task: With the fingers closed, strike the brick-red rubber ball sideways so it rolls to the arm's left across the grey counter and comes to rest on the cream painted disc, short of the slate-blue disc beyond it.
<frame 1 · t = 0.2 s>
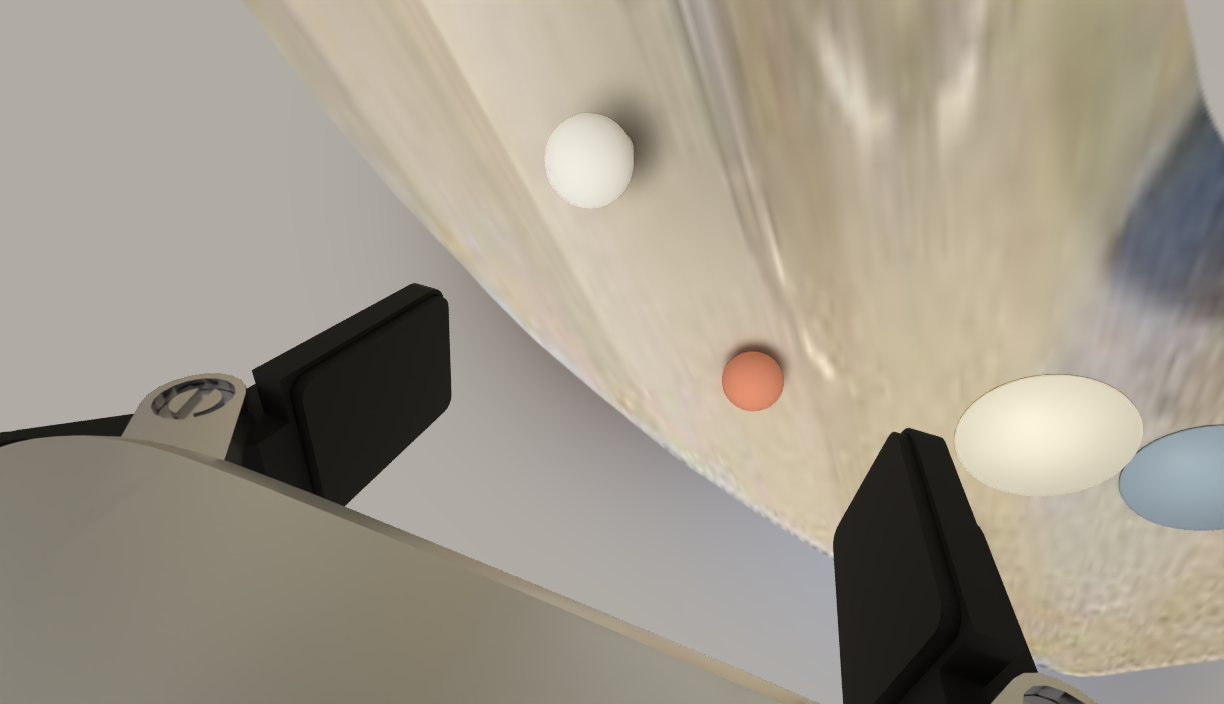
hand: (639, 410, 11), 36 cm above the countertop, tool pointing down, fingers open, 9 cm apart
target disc: (1042, 438, 44), on the countertop
light bulb: (621, 147, 44), on the countertop
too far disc: (1207, 479, 41), on the countertop
ball: (752, 381, 47), on the countertop
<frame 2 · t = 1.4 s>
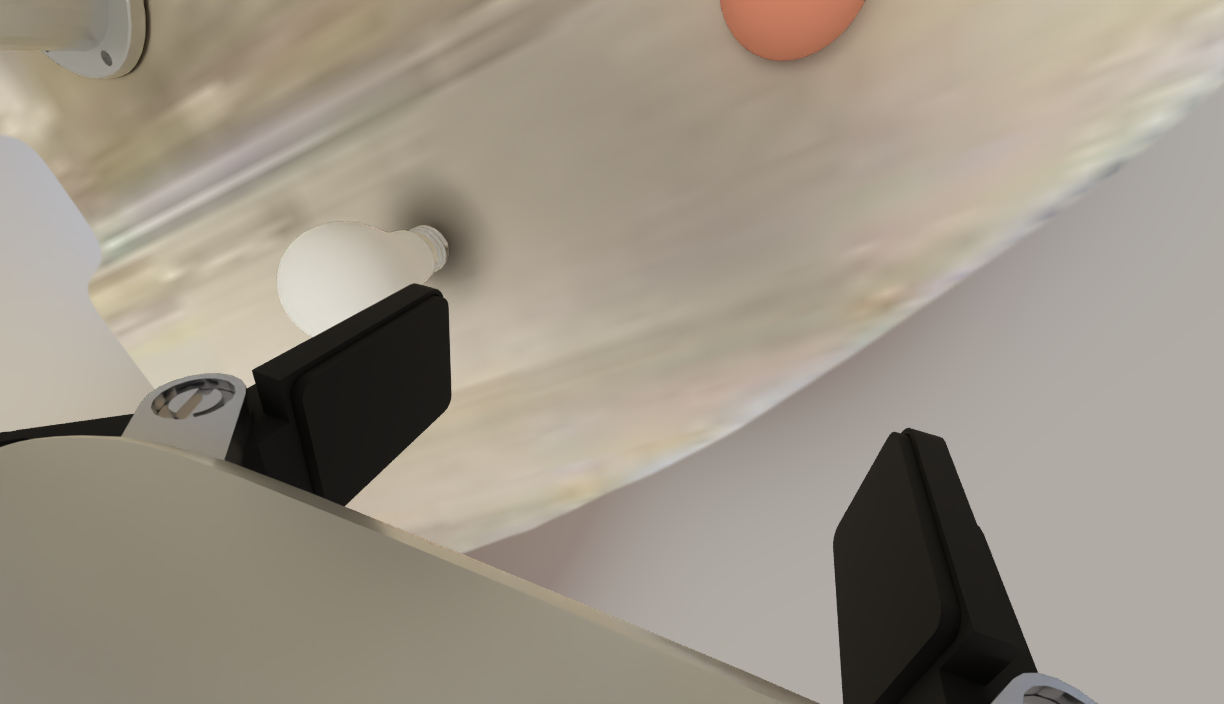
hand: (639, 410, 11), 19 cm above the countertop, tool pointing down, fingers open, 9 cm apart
light bulb: (438, 243, 33), on the countertop
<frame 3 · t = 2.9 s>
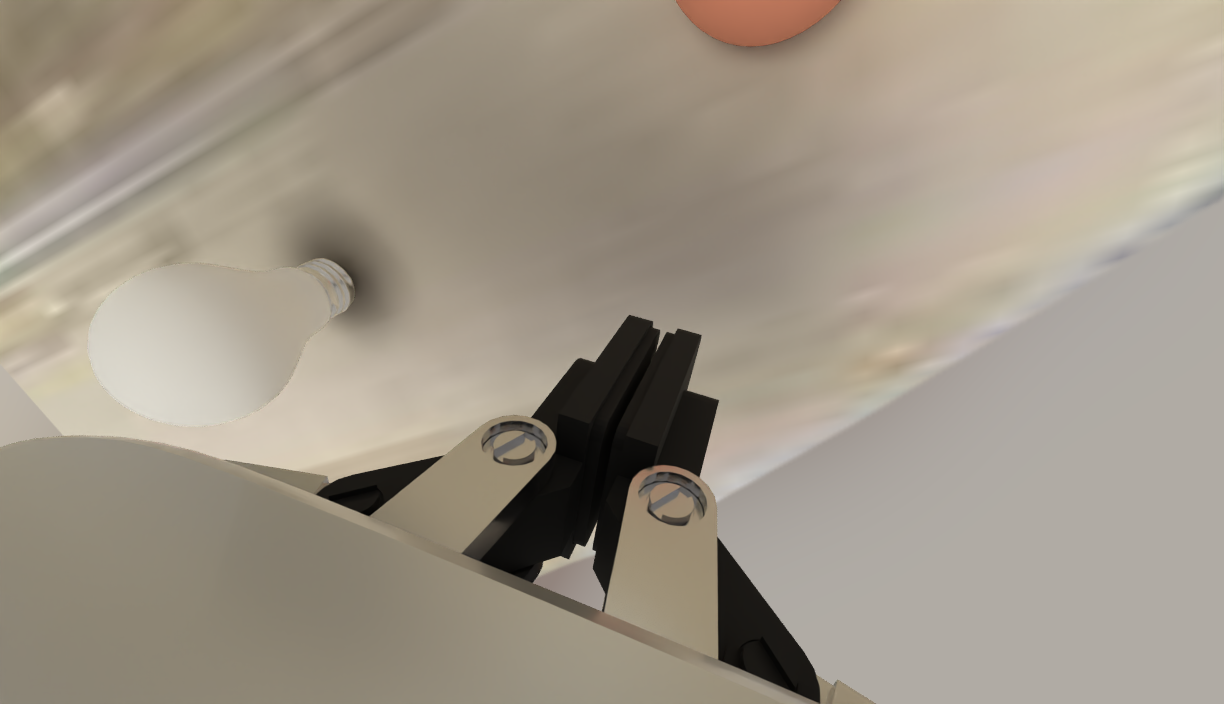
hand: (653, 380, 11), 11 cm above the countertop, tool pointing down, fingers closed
light bulb: (345, 278, 27), on the countertop
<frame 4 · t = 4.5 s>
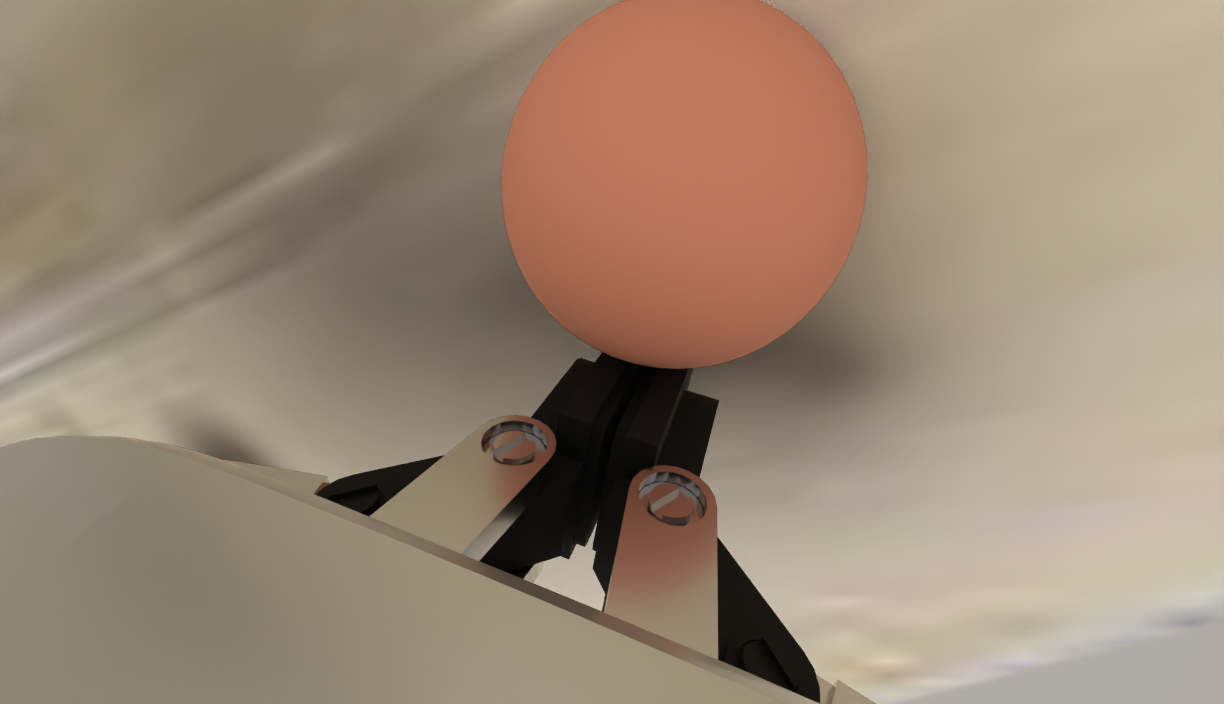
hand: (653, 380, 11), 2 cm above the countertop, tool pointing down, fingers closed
ball: (676, 197, 8), on the countertop
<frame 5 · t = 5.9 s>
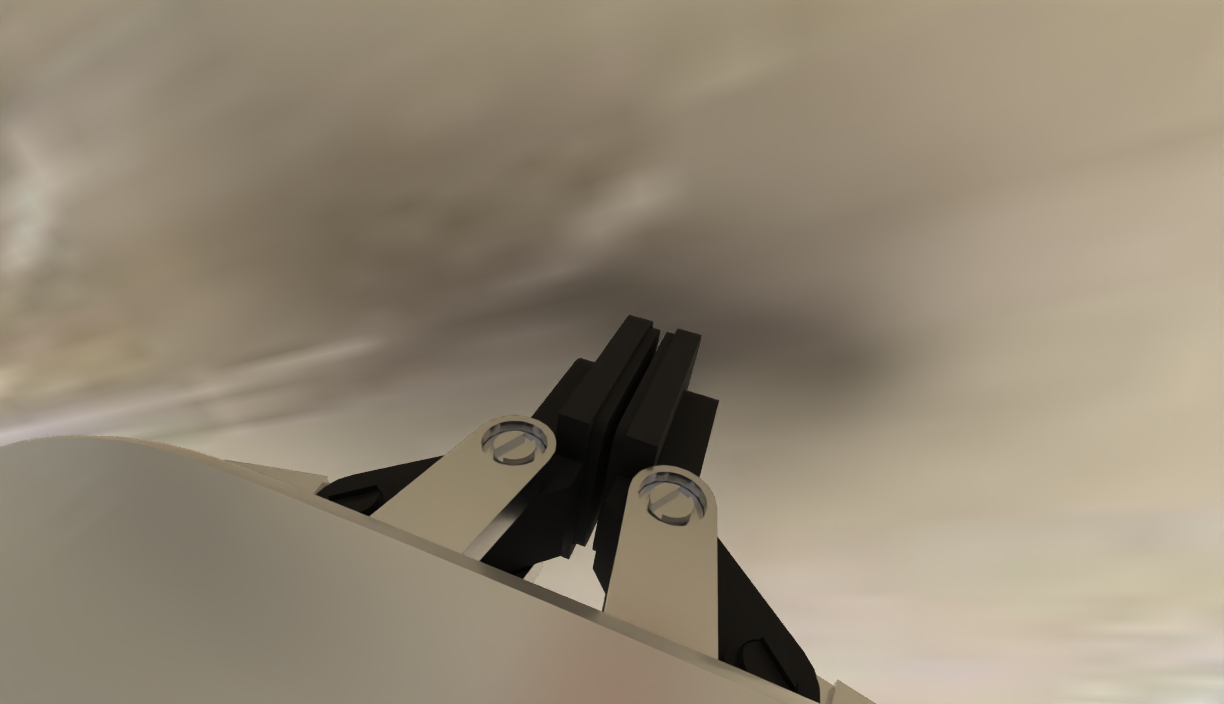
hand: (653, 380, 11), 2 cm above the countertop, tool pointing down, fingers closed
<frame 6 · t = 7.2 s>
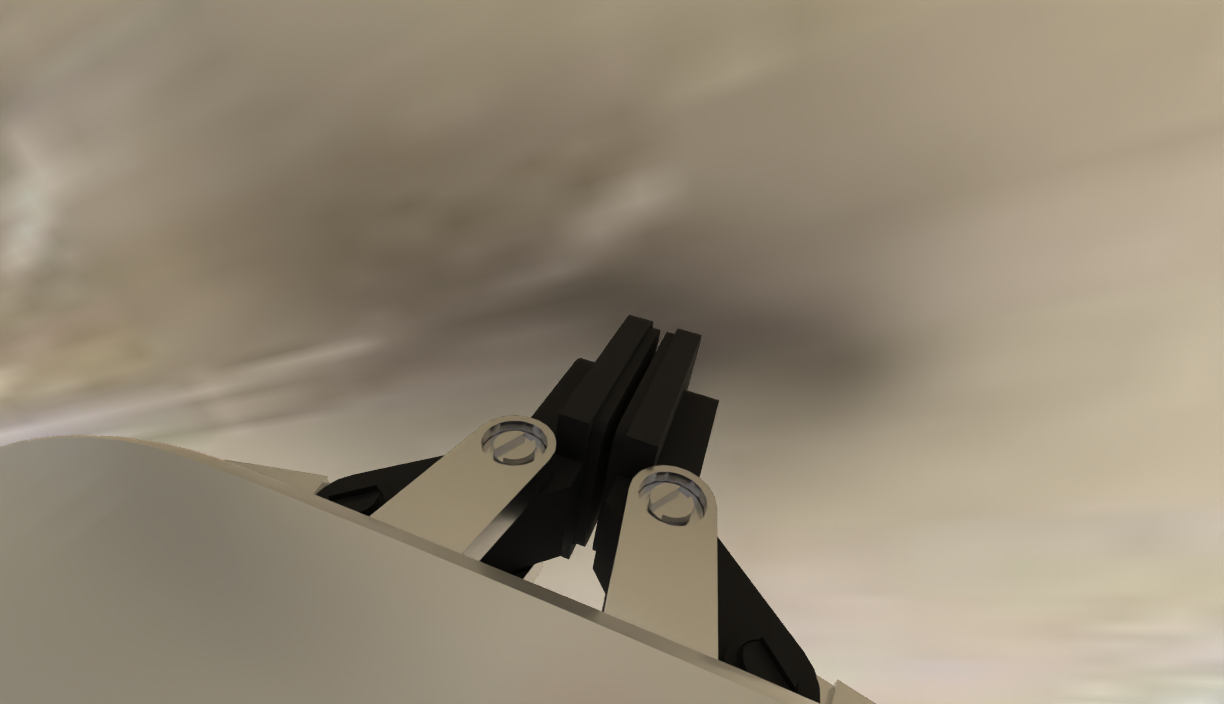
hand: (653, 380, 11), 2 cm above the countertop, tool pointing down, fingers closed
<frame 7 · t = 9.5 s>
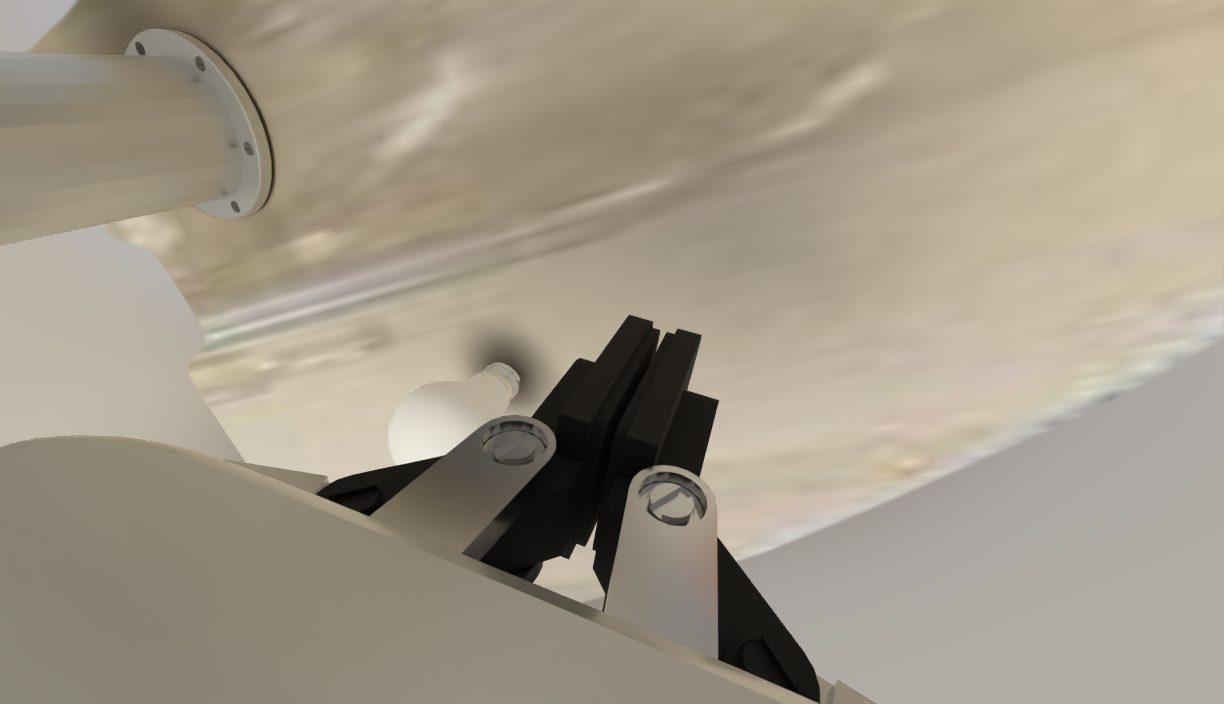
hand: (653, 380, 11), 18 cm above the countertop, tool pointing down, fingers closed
light bulb: (510, 372, 38), on the countertop
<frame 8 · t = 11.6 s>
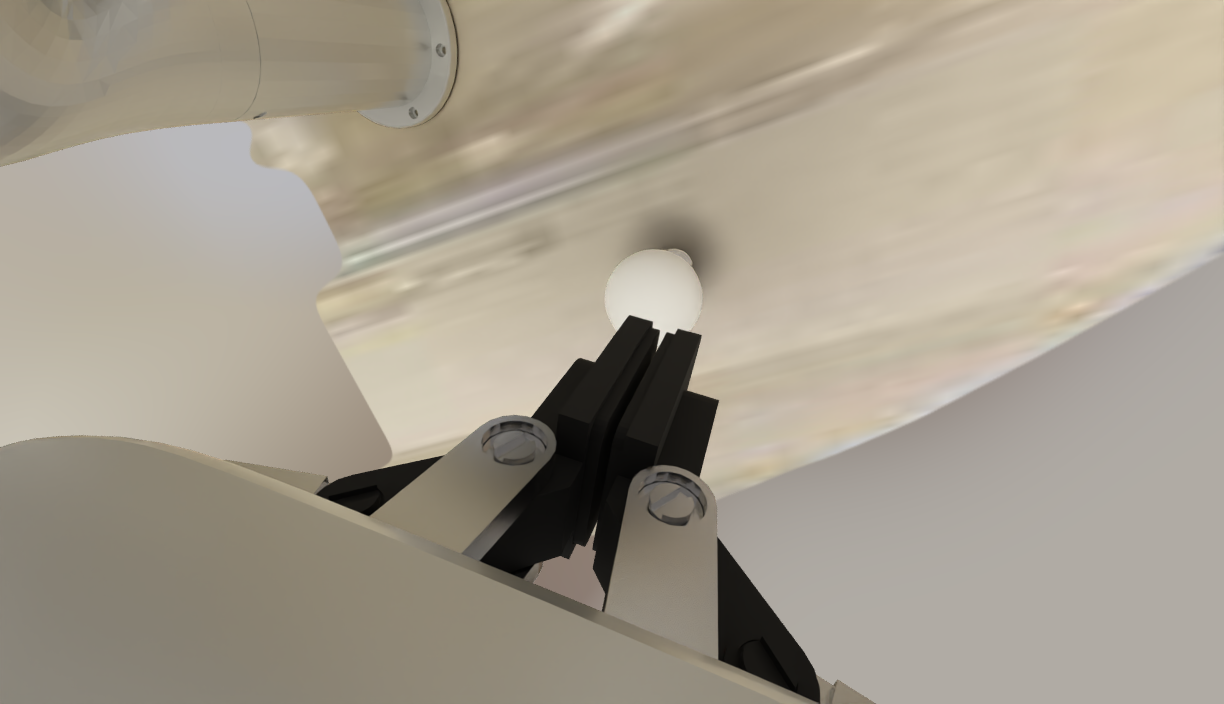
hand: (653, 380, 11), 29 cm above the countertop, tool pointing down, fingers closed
light bulb: (677, 262, 41), on the countertop
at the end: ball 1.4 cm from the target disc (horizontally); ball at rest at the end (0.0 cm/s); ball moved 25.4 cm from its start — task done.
